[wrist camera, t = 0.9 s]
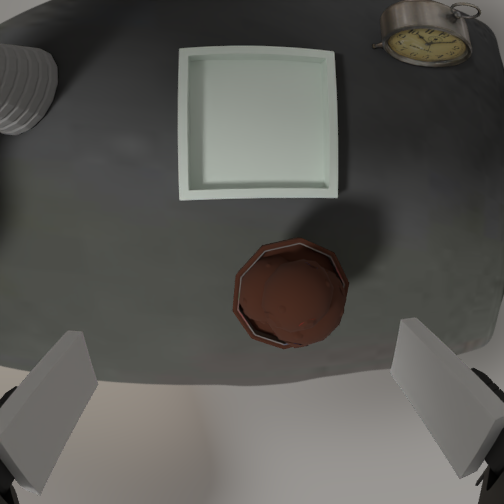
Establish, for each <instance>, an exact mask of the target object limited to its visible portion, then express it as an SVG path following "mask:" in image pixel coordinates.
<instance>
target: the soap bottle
mask: <svg viewBox="0 0 504 504" xmlns="http://www.w3.org/2000/svg"><path fill="white" fill-rule="evenodd" d="M57 85H58V71H57V65H56V63H55V61H54V59H53V57H52V55H51V54H50V53H48V52H46V51H44V50H42V49H40V48H33V47H28V46H26V47H24V46H20V45H16V46H15V45H11V44H1V43H0V132H1V133H3V134H7V135H19V134H21V133H23V132H25V131H27V130H30V129H32V128H33V127H34V126H35V125H36V124H37V123H38V122H39V121H40V120H41V119H42V118H43V117H44V115H45V114H46V112H47V110H48V108H49V107H50V105H51V103H52V101H53V99H54V95H55V92H56V88H57Z"/></svg>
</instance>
